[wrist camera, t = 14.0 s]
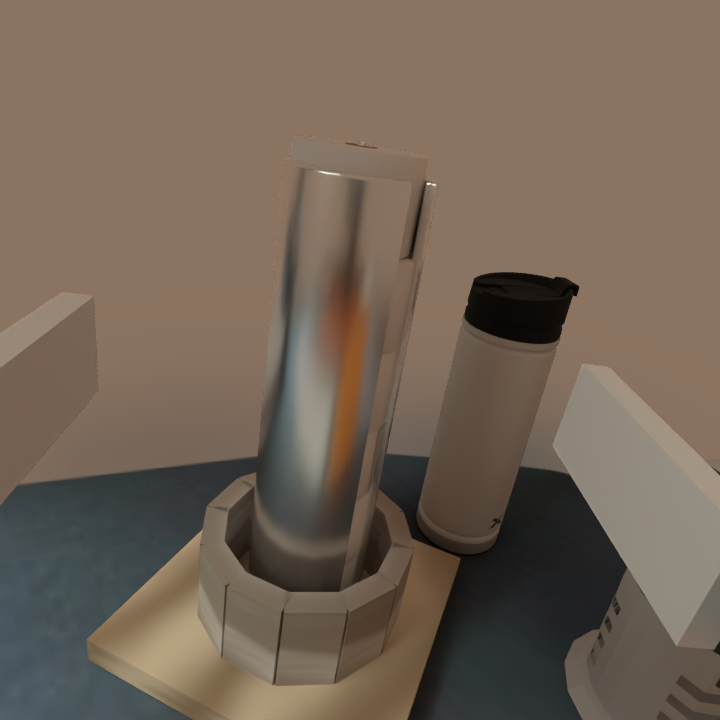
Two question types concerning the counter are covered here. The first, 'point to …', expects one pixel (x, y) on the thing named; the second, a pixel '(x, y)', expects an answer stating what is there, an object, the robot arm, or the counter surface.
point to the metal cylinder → (335, 354)
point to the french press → (640, 666)
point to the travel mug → (490, 405)
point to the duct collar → (280, 627)
